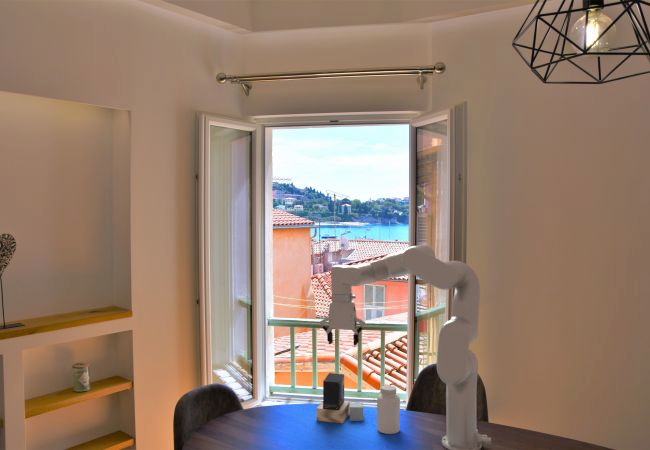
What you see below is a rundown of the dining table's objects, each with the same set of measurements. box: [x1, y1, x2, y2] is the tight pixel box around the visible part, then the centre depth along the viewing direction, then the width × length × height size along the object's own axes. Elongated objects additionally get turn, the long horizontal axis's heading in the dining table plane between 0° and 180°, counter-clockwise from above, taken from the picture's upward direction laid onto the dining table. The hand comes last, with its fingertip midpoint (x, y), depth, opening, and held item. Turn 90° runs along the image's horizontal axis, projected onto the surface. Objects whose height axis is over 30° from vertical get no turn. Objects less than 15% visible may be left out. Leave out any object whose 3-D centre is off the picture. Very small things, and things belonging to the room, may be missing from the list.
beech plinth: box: [316, 400, 350, 424], centre depth 192 cm, size 10×10×4 cm
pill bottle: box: [376, 384, 401, 435], centre depth 180 cm, size 8×8×15 cm
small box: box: [322, 372, 345, 410], centre depth 192 cm, size 11×6×10 cm, turn 167°
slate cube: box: [349, 401, 364, 422], centre depth 191 cm, size 5×5×5 cm
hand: (343, 344), depth 191 cm, fingers open, 9 cm apart
